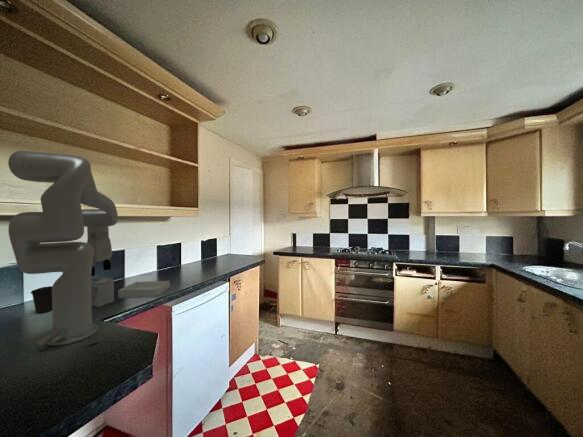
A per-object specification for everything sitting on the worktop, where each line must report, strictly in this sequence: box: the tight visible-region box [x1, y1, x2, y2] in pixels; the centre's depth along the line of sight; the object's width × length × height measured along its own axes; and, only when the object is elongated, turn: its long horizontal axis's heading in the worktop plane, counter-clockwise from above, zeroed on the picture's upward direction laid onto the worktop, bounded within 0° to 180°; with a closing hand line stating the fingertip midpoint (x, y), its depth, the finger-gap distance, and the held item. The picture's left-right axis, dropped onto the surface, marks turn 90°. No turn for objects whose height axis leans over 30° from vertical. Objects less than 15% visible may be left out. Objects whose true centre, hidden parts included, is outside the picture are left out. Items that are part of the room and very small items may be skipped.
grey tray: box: [117, 280, 171, 299], centre depth 118 cm, size 14×18×4 cm
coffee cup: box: [30, 285, 53, 315], centre depth 97 cm, size 8×8×10 cm
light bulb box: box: [91, 276, 115, 308], centre depth 105 cm, size 11×7×11 cm, turn 69°
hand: (99, 272), depth 106 cm, fingers open, 9 cm apart
